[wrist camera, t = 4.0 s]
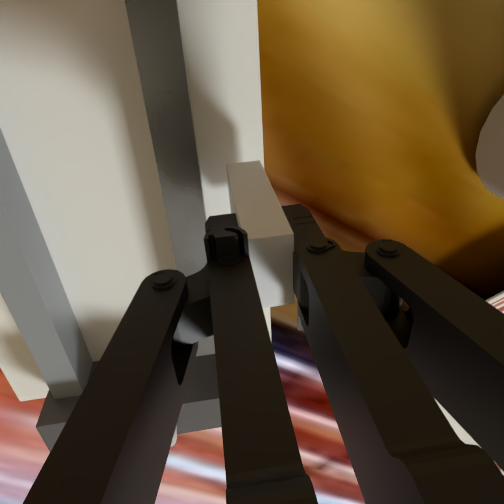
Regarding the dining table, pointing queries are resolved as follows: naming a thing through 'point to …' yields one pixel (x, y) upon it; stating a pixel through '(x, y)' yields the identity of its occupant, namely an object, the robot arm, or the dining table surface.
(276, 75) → the dining table surface
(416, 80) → the dining table surface
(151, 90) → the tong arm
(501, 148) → the can
